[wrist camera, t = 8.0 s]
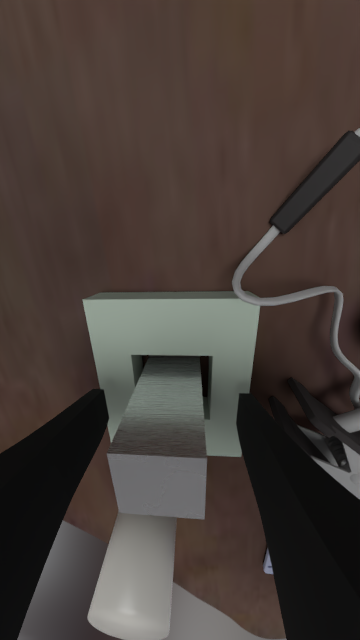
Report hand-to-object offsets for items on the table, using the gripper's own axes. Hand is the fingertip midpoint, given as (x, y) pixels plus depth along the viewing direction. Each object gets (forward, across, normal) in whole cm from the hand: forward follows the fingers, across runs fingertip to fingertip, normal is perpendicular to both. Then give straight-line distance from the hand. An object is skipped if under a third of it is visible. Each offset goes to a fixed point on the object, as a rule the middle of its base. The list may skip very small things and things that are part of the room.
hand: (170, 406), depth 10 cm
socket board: (+3, 0, 0) cm, 3 cm away
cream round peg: (+3, +2, +12) cm, 13 cm away
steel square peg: (+3, 0, 0) cm, 3 cm away
